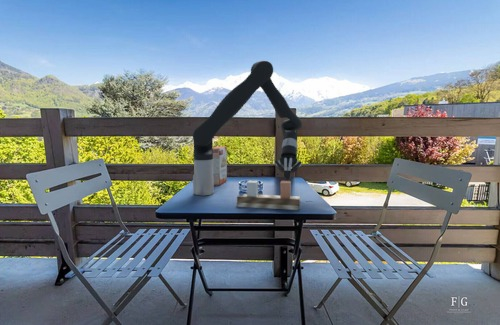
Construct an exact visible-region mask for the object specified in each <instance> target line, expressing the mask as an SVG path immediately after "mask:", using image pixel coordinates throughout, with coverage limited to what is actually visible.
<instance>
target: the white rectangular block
mask: <svg viewBox="0 0 500 325" xmlns="http://www.w3.org/2000/svg"><path fill="white" fill-rule="evenodd" d="M246 194H247V196H250V197H258V195H259V180H250V179H249V180H247V182H246Z"/></svg>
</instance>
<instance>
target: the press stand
mask: <svg viewBox="0 0 500 325" xmlns="http://www.w3.org/2000/svg"><path fill="white" fill-rule="evenodd" d="M300 205H301V196H296V195H295V196H292V195H291V196H290V199H289V198H280V195H275V194H273V195H272V194H258V197H250V196H247V193H244V194H243V195H237V196H236V207H240V208H241V207H242V208H256V209H257V208H258V209H270V210H271V209H274V210H292V211H300Z"/></svg>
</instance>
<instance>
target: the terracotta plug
mask: <svg viewBox="0 0 500 325" xmlns="http://www.w3.org/2000/svg"><path fill="white" fill-rule="evenodd" d="M291 183H292V181H291V180H281V181H280V193H279V194H280V195H279V196H280V198H289V199H290V196H292V195H291V193H292V192H291V189H292V188H291V185H292V184H291Z"/></svg>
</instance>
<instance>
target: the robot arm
mask: <svg viewBox="0 0 500 325" xmlns="http://www.w3.org/2000/svg"><path fill="white" fill-rule="evenodd" d="M273 74H274V66H273V64H272V62H270V61H268V60H258V61H256V62H254V63H253V64H252V65H251V68H250V73H249V74H248V75H247V76H246V78H245V79H244V80H243V81H241V83H239V84H238V85H236V86H235V87H233V88H232V90H230V91H229V92H228V93H227V94H226V95H225V97H224V98H223V99H222V100H221V101H220V102H219V103H218V105H217V106H216V107H215V109H214V110H213V111H212V113H211V115H210V116H209V117H208V118H207V119H205V120H204V122H202V123H201V124H200V125H199V126H198V127H196V128H195V129H194V130H193V132H192V139H193V165H194V166H193V167H194V171H193V172H194V173H193V175H192V193H193V195H195V196H210V195H213V194H214V193H215V188H214V186H215V185H214V181H213V148H214V147H213V146H214V144H213V140H214V137H215V136H216V134H217V133H218V132H219V130H220V129H222V127H224V125H225V124H227V123H228V122H229V121H230V120H232V118H234V116H236V114H238V112H240V110H241V109H242V108H243V107H244V106H245V105H246V103H247V102H248V101H249V100H250V98H252V96H253V95H254V94H255V93H256V92H257V91H258V89H260V88H261V89H262V91H263V92H264V94H265V95H266V97H267V98H268V100H269V102H270V104H271V105H272V107H273V109H274V111H275V112H276V114H277V116H278V117H279V118H280V119H284V118H286V119H285V120H284V121H282V122H281V124H280V125H281V126H280V127H281V130H282V136H283V138H282V144H281V152H280V153H281V154H280V158H279V159H278V160H275V161H274V164H275V167H276V168H278V171H280V173H283V179H284V181H290V179H291V174H293V173H294V174H295V172H297V171H298V170H299V169H300V168H301V167H302V166H303V165H302V161H301V160H300V161H299V160H298V157H297V156H298V133H297V132H296V131H298V130H300V129H301V128H302V126H303V123H302V121H301V119H300V117H299V116H298V115H297V114H296V113H295V112H294V111H293V110H292V109H291V107H290V106H289V104H288V102H287V100H286V99H285V97H284V95H283V94H282V93H281V91H280V90H279V89H278V88H277V87H276V86H275V84H274V82H273V81H272V76H273Z"/></svg>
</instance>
